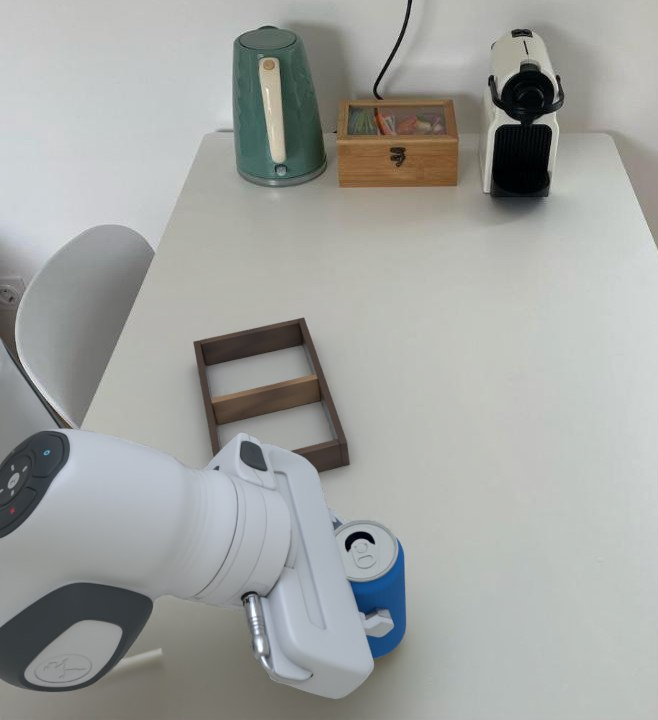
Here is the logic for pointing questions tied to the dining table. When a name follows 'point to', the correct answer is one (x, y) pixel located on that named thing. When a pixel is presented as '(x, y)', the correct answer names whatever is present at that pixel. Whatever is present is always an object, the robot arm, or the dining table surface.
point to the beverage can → (375, 576)
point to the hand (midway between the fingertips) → (373, 582)
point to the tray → (271, 387)
